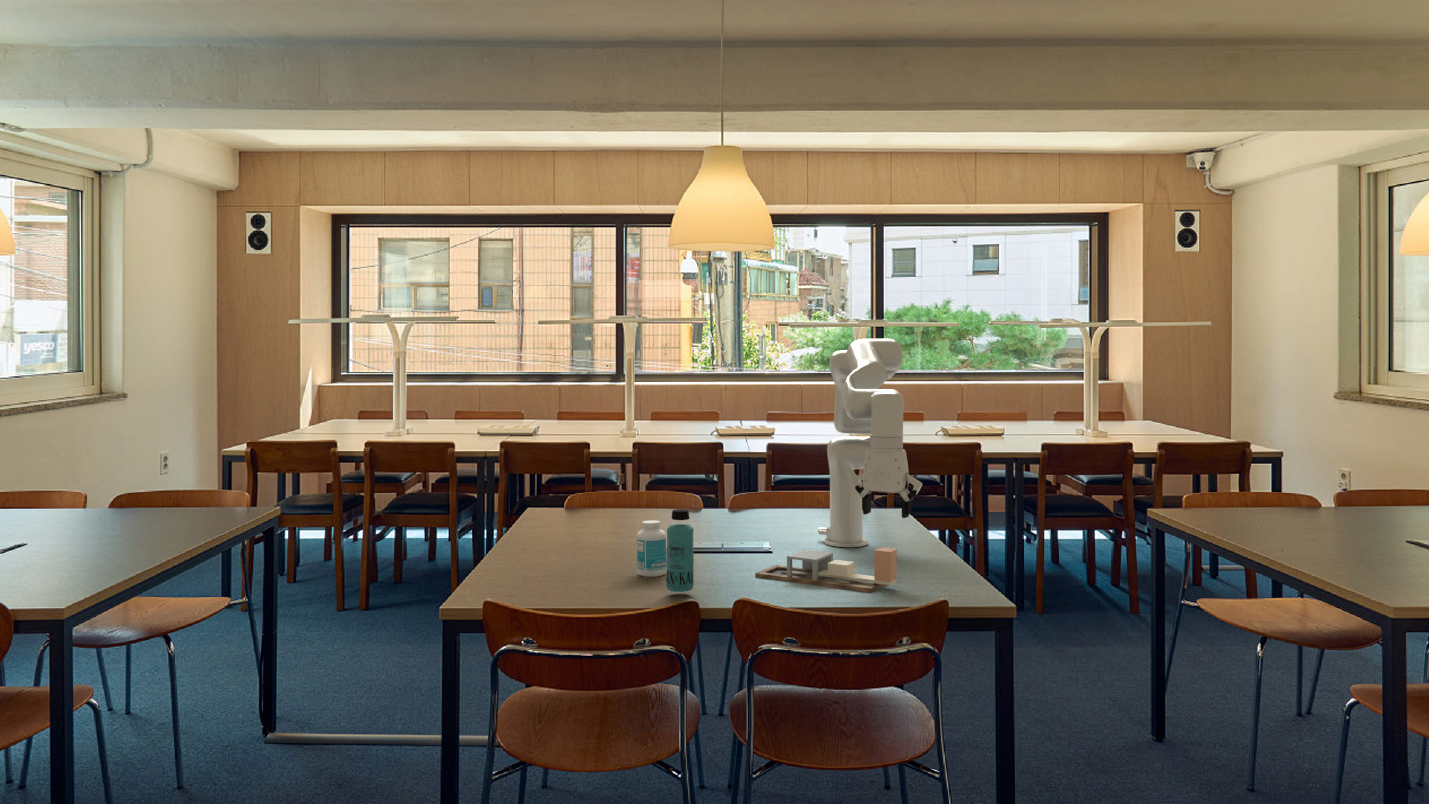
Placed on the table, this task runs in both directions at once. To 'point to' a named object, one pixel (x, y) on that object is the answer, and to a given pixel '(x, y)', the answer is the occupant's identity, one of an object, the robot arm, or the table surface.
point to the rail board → (806, 578)
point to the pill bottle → (651, 550)
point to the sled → (882, 575)
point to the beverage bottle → (680, 554)
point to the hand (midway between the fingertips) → (886, 515)
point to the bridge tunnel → (810, 561)
